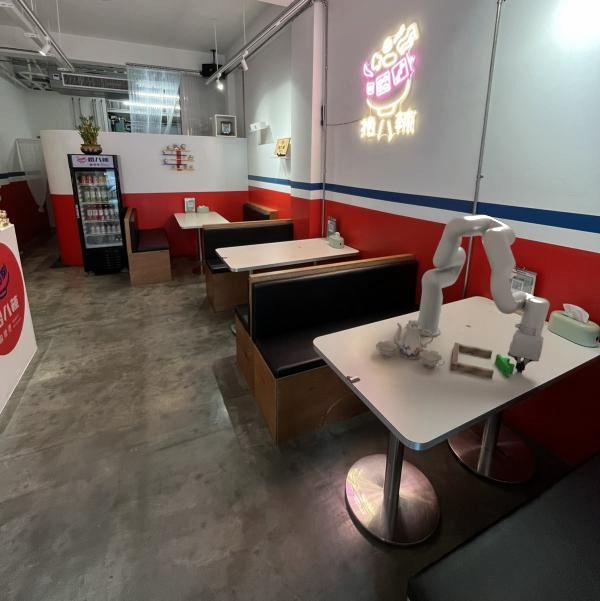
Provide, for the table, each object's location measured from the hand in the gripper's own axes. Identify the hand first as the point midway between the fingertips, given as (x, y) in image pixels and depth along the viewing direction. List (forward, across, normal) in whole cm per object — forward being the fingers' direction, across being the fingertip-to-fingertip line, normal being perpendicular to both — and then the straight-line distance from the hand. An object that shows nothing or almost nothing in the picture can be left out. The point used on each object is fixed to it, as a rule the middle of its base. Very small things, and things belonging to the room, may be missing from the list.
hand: (519, 371), depth 146 cm
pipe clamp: (+1, -5, -1) cm, 5 cm away
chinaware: (+1, -42, -7) cm, 42 cm away
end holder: (+1, -18, 0) cm, 18 cm away
